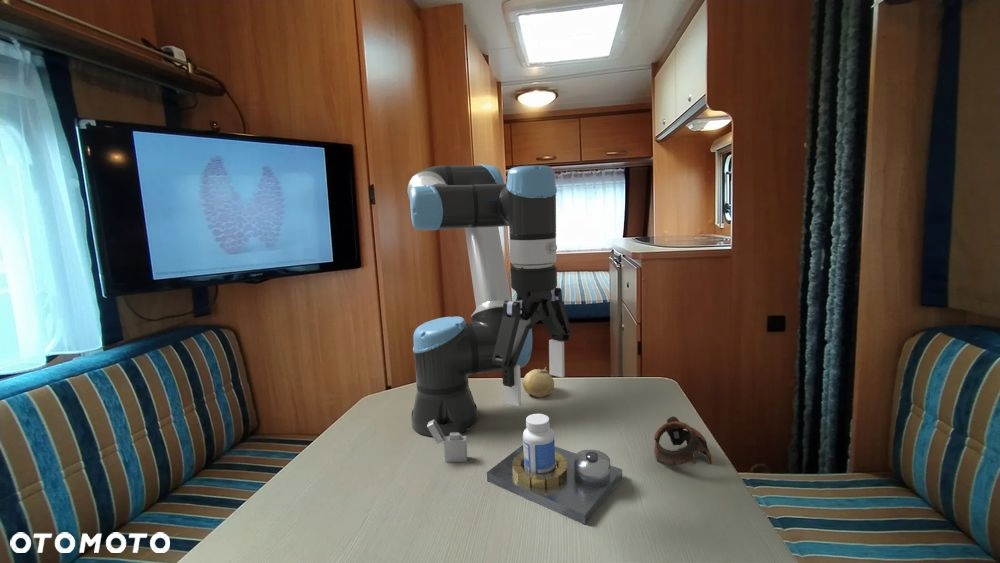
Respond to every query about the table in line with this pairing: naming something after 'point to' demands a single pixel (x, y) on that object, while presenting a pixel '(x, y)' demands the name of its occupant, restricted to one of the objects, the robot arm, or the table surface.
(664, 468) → the table surface
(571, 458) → the carrier plate
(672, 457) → the pottery mug
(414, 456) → the table surface
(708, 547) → the table surface
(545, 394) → the onion
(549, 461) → the pill bottle
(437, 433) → the lighter
